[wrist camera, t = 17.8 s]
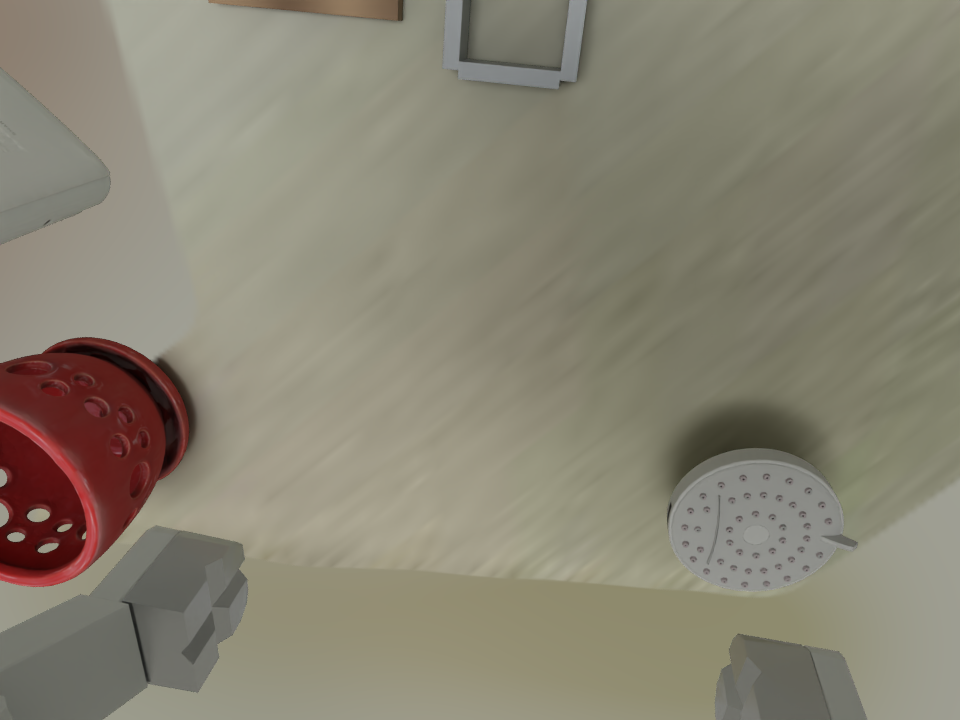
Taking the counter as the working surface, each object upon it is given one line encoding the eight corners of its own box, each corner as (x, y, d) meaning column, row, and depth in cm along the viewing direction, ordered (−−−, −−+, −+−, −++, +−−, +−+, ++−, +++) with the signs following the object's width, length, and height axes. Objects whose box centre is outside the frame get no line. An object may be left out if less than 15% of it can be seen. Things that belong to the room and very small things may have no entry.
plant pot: (227, 369, 47) (120, 473, 36) (180, 500, 53) (77, 622, 42) (46, 280, 45) (-119, 359, 35) (20, 424, 51) (-129, 530, 41)
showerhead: (840, 613, 39) (662, 596, 41) (805, 529, 46) (652, 517, 47) (880, 478, 35) (680, 465, 36) (835, 407, 42) (666, 398, 43)
